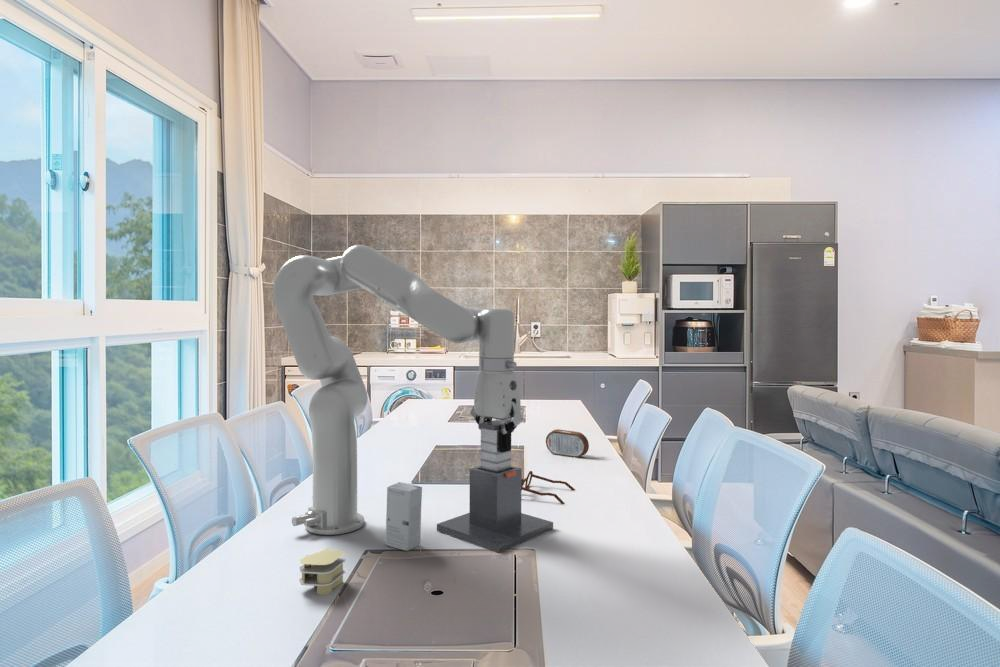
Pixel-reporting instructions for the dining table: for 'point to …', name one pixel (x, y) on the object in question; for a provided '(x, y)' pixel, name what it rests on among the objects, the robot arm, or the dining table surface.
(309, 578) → the beige layered block
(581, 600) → the dining table surface
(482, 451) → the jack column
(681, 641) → the dining table surface
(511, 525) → the base
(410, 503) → the skincare box
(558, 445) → the tin
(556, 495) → the glasses
